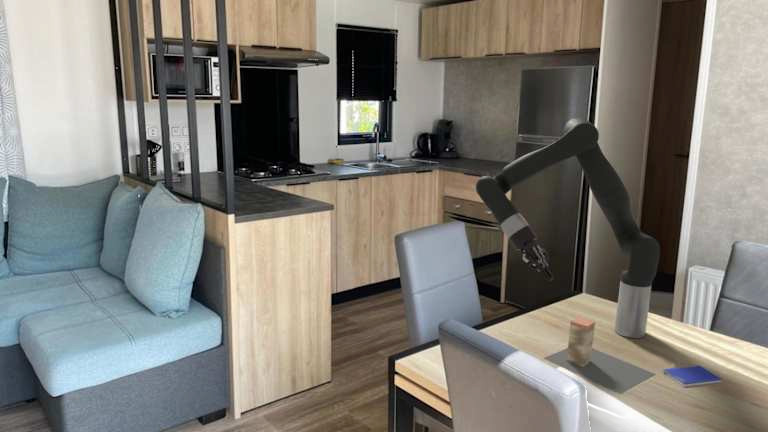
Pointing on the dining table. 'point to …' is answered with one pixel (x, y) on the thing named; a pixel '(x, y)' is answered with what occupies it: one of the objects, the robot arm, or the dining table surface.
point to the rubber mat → (604, 370)
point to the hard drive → (691, 375)
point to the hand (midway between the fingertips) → (551, 279)
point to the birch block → (580, 341)
